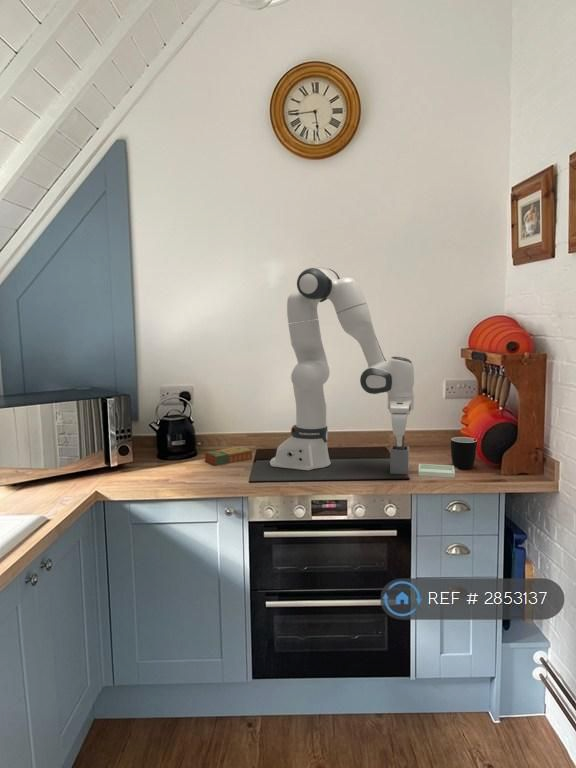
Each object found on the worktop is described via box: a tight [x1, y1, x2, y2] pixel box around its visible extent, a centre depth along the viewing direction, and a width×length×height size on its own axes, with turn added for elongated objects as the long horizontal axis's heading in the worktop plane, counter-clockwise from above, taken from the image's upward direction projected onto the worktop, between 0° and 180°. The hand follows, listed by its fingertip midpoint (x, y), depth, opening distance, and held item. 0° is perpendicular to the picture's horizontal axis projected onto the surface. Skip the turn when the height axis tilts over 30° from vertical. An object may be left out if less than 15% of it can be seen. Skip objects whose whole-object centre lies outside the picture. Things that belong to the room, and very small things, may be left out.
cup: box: [389, 445, 410, 475], centre depth 209 cm, size 6×6×9 cm
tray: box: [417, 463, 456, 479], centre depth 208 cm, size 12×10×2 cm
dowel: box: [395, 434, 405, 450], centre depth 209 cm, size 3×3×14 cm
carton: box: [204, 445, 253, 467], centre depth 229 cm, size 8×16×4 cm, turn 127°
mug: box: [450, 436, 478, 470], centre depth 218 cm, size 12×9×10 cm
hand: (399, 443), depth 208 cm, fingers open, 6 cm apart
